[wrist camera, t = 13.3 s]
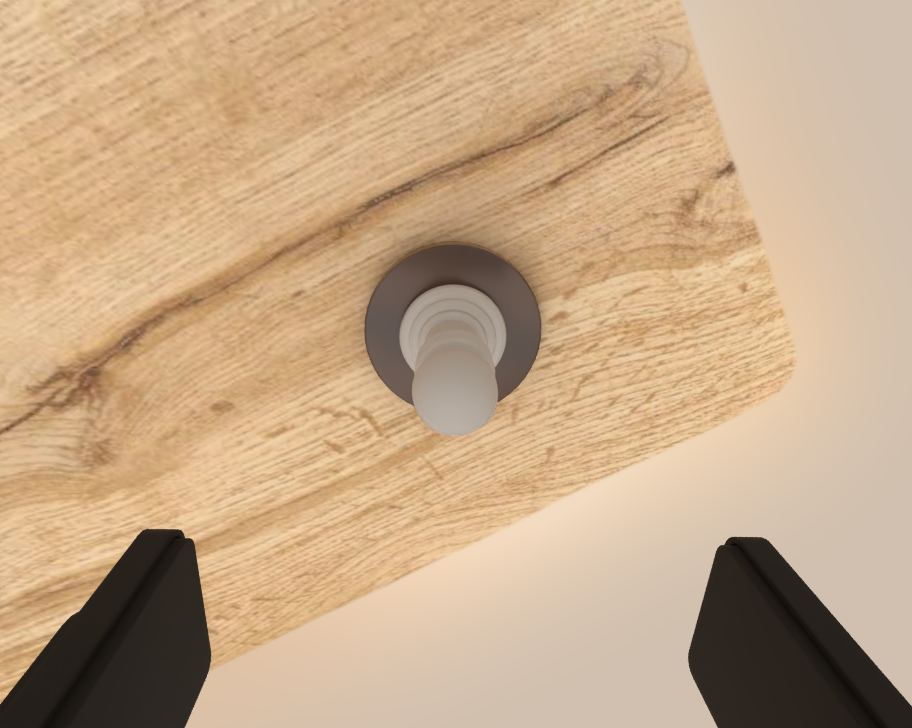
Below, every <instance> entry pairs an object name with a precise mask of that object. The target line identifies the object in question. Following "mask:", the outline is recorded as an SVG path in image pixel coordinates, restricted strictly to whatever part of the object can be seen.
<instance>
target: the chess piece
mask: <svg viewBox="0 0 912 728" xmlns="http://www.w3.org/2000/svg"><path fill="white" fill-rule="evenodd" d="M399 339H400V346H401V350H402V353H403V356H404V358H405V360H406V362H407V363H408V365H409V366H410V368H411V369H412V370H413V371H414V379H413V384H412V398H413V403H414V406H415V409H416V411H417V413H418V415H419V417H420V418H421V420H422V421H423V422H424V423H425V424H426V425H427V426H428V427H429V428H430V429H432V430H433V431H435V432H437V433H440V434H443V435H449V436H460V435H465V434H469V433H471V432H474V431H476V430H478V429H479V428H481V427H482V426H483V425H485V424H486V423H487V422H488V421H489V419H490V418H491V417H492V415H493V413H494V411H495V409H496V405H497V400H498V387H497V382H496V378H495V367H496V366H497V364H498V362H499V361H500V359H501V357H502V355H503V352H504V349H505V345H506V326H505V322H504V319H503V316H502V314H501V312H500V310H499V309H498V307H497V306H496V305H495V303H494V302H493V301H492V300H491V299H490V298H489V297H488V296H486V295H485V294H483V293H482V292H480V291H478V290H476V289H474V288H471V287H468V286H463V285H444V286H439V287H436V288H433V289H431V290H428V291H426V292H425V293H423V294H422V295H420V296H419V297H418V298H417V299H415V301H414V302H413V303H412V304H411V305H410V306H409V308H408V309H407V311H406V313H405V314H404V316H403V319H402V322H401V326H400V334H399Z"/></svg>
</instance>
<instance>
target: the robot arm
mask: <svg viewBox="0 0 912 728" xmlns="http://www.w3.org/2000/svg"><path fill="white" fill-rule="evenodd" d="M688 661H689V668H690V671H691V674H692V676H693V679H694V680H695V683H696V685H697V687H698V689H699V690H700V693H701V695H702V697H703V699H704V701H705V703H706V705H707V707H708V709H709V711H710V713H711V715H712V717H713V719H714V721H715V723H716V725H717V727H718V728H912V706H911V705H910V704H909V703H908V702H907V700H906V699H905V698H904V697H903V696H902V695H901V694H900V693H899V691H898V690H897V689H896V688H895V687H894V686H893V684H892V683H891V682H890V681H889V680H888V678H887V677H886V676H885V675H884V674H883V673H882V671H881V670H880V669H879V668H878V667H877V666H876V665H875V663H874V662H873V661H872V660H871V659H870V658H869V656H868V655H867V654H866V653H865V652H864V651H863V650H862V648H861V647H860V646H859V645H858V644H857V643H856V641H855V640H854V639H853V638H852V637H851V636H850V634H849V633H848V632H847V631H846V630H845V629H844V628H843V626H842V625H841V624H840V623H839V622H838V621H837V619H836V618H835V617H834V616H833V615H832V614H831V613H830V611H829V610H828V609H827V608H826V607H825V606H824V604H823V603H822V602H821V601H820V600H819V599H818V597H817V596H816V595H815V594H814V593H813V592H812V591H811V589H810V588H809V587H808V586H807V585H806V584H805V582H804V581H803V580H802V579H801V578H800V577H799V576H798V574H797V573H796V572H795V571H794V570H793V569H792V567H791V566H790V565H789V564H788V563H787V562H786V561H785V559H784V558H783V557H782V556H781V555H780V554H779V552H778V551H777V550H776V549H775V548H774V547H773V545H772V544H771V543H770V542H769V541H768V540H766V539H764V538H761V537H731V538H729V539H728V540H727V541H726V543H725V545H721V546H719V547H718V549H717V551H716V554H715V558H714V562H713V565H712V569H711V573H710V576H709V580H708V584H707V587H706V591H705V594H704V598H703V602H702V605H701V609H700V613H699V616H698V620H697V624H696V628H695V631H694V635H693V638H692V642H691V646H690V649H689V654H688ZM210 662H211V648H210V642H209V635H208V629H207V622H206V616H205V609H204V603H203V596H202V590H201V584H200V577H199V571H198V564H197V558H196V551H195V545H194V541H193V540H192V539H190V538H185V536H184V533H183V532H182V531H181V530H178V529H146V530H143V531H142V532H141V533H140V534H139V535H138V536H137V537H136V539H135V540H134V541H133V543H132V544H131V545H130V547H129V548H128V549H127V550H126V552H125V553H124V554H123V556H122V557H121V558H120V560H119V561H118V562H117V563H116V565H115V566H114V567H113V569H112V570H111V571H110V573H109V574H108V575H107V576H106V578H105V579H104V580H103V582H102V583H101V584H100V586H99V587H98V588H97V589H96V591H95V592H94V593H93V595H92V596H91V597H90V599H89V600H88V601H87V602H86V604H85V605H84V606H83V608H82V609H81V610H80V611H79V612H77V613H76V614H74V615H72V616H71V617H70V618H69V619H68V620H67V621H66V622H65V623H64V624H63V625H62V626H61V628H60V629H59V630H58V631H57V633H56V634H55V635H54V637H53V638H52V639H51V640H50V642H49V643H48V644H47V646H46V647H45V648H44V649H43V651H42V652H41V653H40V654H39V656H38V657H37V658H36V660H35V661H34V662H33V663H32V665H31V666H30V667H29V669H28V670H27V671H26V672H25V674H24V675H23V676H22V677H21V679H20V680H19V681H18V683H17V684H16V685H15V686H14V688H13V689H12V690H11V691H10V693H9V694H8V695H7V697H6V698H5V699H4V700H3V702H2V703H1V704H0V728H185V726H186V723H187V721H188V719H189V716H190V714H191V712H192V710H193V707H194V705H195V703H196V700H197V698H198V696H199V693H200V691H201V689H202V686H203V684H204V682H205V679H206V677H207V674H208V671H209V667H210Z"/></svg>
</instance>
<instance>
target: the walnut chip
mask: <svg viewBox="0 0 912 728" xmlns="http://www.w3.org/2000/svg"><path fill="white" fill-rule="evenodd" d="M444 285H463V286H468V287H471V288H474V289H476V290H478V291H480V292H482V293H483V294H485V295H486V296H488V297H489V298H490V299H491V300H492V301H493V302H494V303H495V305H496V306H497V307H498V309H499V310H500V312H501V314H502V316H503V319H504V322H505V326H506V345H505V349H504V352H503V355H502V357H501V359H500V361H499V362H498V364H497V366H496V367H495V378H496V382H497V387H498V400H497V402H499V401H500V400H502V399H503V398H505V397H506V396H507V395H509V394H510V393H511V392H512V391H513V390H514V389H515V388H517V387H518V386H519V384H520V383H521V382H522V381H523V380H524V378H525V377H526V375H527V374H528V372H529V371H530V369H531V367H532V365H533V363H534V361H535V359H536V356H537V353H538V349H539V345H540V339H541V318H540V312H539V308H538V304H537V301H536V299H535V296H534V294H533V292H532V290H531V288H530V287H529V285H528V283H527V282H526V281H525V279H524V278H523V277H522V275H521V274H520V273H519V271H518V270H517V269H516V268H515V267H514V266H513V265H512V264H511V263H510V262H508V261H507V260H506V259H504V258H503V257H502V256H500V255H499V254H497V253H495V252H493V251H492V250H489V249H487V248H484V247H482V246H479V245H475V244H471V243H465V242H441V243H435V244H431V245H427V246H424V247H421V248H419V249H417V250H415V251H412V252H410V253H409V254H407V255H406V256H404V257H402V258H401V259H400V260H399V261H397V262H396V263H395V264H394V265H393V266H392V267H391V268H390V269H389V270H388V271H387V272H386V273H385V274H384V276H383V277H382V279H381V280H380V282H379V283H378V285H377V287H376V289H375V291H374V293H373V295H372V297H371V299H370V302H369V305H368V308H367V313H366V318H365V330H364V331H365V343H366V347H367V352H368V355H369V358H370V360H371V363H372V365H373V367H374V369H375V371H376V373H377V374H378V376H379V377H380V378H381V380H382V381H383V382H384V383H385V385H386V386H387V387H388V388H389V389H390V390H391V391H392V392H394V393H395V394H396V395H397V396H398V397H400V398H401V399H403V400H404V401H406V402H407V403H409V404H412V405H414V403H413V398H412V384H413V379H414V371H413V370H412V369H411V368H410V366H409V365H408V363H407V362H406V360H405V358H404V356H403V353H402V350H401V346H400V339H399V334H400V326H401V322H402V319H403V316H404V314H405V313H406V311H407V309H408V308H409V306H410V305H411V304H412V303H413V302H414V301H415V299H417V298H418V297H419V296H420V295H422V294H423V293H425V292H426V291H428V290H431V289H433V288H436V287H439V286H444Z"/></svg>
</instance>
